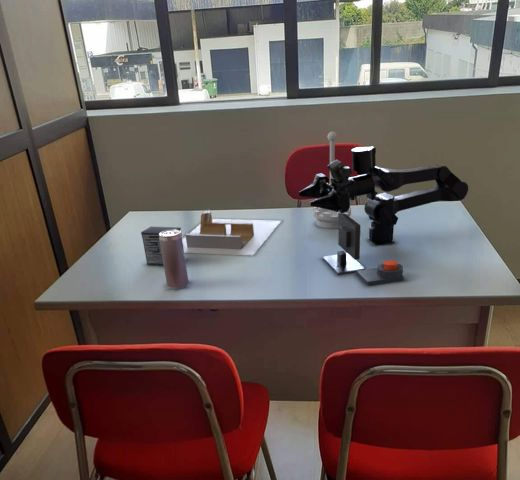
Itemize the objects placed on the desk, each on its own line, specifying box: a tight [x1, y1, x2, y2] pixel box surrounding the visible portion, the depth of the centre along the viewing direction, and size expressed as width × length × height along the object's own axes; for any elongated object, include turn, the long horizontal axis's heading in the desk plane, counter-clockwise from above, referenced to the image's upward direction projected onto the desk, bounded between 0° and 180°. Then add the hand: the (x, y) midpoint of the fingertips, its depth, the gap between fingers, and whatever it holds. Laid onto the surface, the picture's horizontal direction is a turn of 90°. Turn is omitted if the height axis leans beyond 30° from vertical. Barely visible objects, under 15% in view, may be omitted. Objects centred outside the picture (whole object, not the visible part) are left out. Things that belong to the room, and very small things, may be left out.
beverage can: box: [159, 229, 189, 290], centre depth 141 cm, size 6×6×15 cm
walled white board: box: [182, 208, 282, 256], centre depth 177 cm, size 29×35×8 cm
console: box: [355, 262, 405, 287], centre depth 139 cm, size 11×8×3 cm
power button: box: [383, 259, 399, 270], centre depth 138 cm, size 4×4×2 cm
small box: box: [140, 226, 182, 267], centre depth 158 cm, size 11×6×10 cm, turn 71°
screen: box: [337, 213, 361, 261], centre depth 145 cm, size 3×13×10 cm, turn 13°
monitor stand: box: [322, 250, 366, 276], centre depth 148 cm, size 8×13×4 cm, turn 12°
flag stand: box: [312, 131, 352, 229], centre depth 175 cm, size 13×13×30 cm
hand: (304, 198), depth 150 cm, fingers open, 9 cm apart
